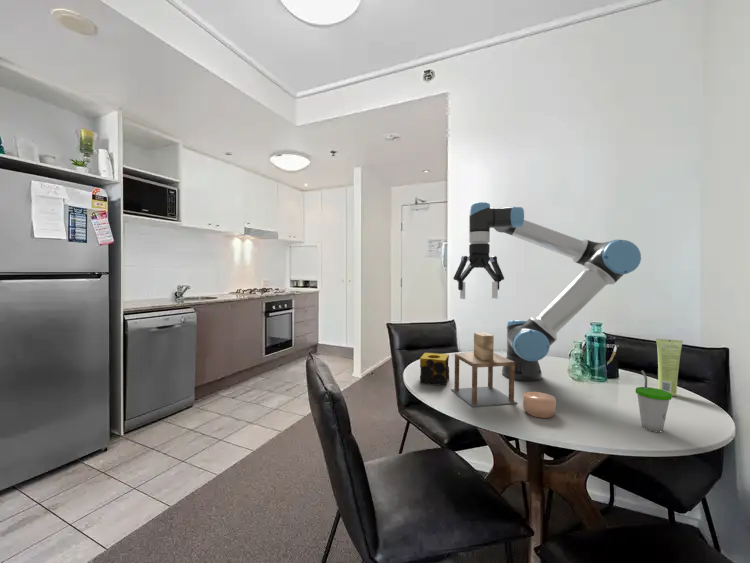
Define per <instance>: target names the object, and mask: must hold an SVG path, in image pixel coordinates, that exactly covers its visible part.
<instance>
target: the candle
mask: <svg viewBox="0 0 750 563" xmlns="http://www.w3.org/2000/svg"><path fill="white" fill-rule="evenodd" d="M449 359H450V354H447V353H446V354H445V353H437V352H436V353H434V352H424V353H423V354H422V355H421V356H420V358H419V367H420V372H419V373H420V376H419V383H420V384H424V385H432V386H433V385H434V386H441V387H445V386H447V384H448V382H449V380H450V367H449Z"/></svg>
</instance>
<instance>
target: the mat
mask: <svg viewBox="0 0 750 563" xmlns="http://www.w3.org/2000/svg"><path fill="white" fill-rule="evenodd" d="M450 391H452V392H453V393H454V394H455V395H456V396H457V397H459V398H460V399H461V400H463V401H464V403H466V404H467V403H468V405H469V406H470V407H471V408H479V407H495V406H503V405H505V406H506V405H507V406H508V405H517V404H518V402H517V401H516V400H514V402H510V401H509V395H506V394H505V393H503V392H501V391H500V390H499V389H496V388H495V387H493V388H488V386H477V405H473V404H472V387H465V388H464V387H463V388H462V387H461V388H460V387H459V391H455V390H454V388H452V389H450Z"/></svg>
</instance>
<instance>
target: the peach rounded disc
mask: <svg viewBox="0 0 750 563" xmlns="http://www.w3.org/2000/svg"><path fill="white" fill-rule="evenodd" d="M522 397H523V399H522V401H523V402H522V409H523V410H524V411H525V412H526V413H527V414H528V415H529V416H532V417H535V418H540V419H541V418H542V419H548V418H549V419H550V418H551V417H553V416H555V415H556V414H557V398H556V397H555V396H554V395H551V394H549V393H546V392H540V391H527V392H524V393H523V395H522Z"/></svg>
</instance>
